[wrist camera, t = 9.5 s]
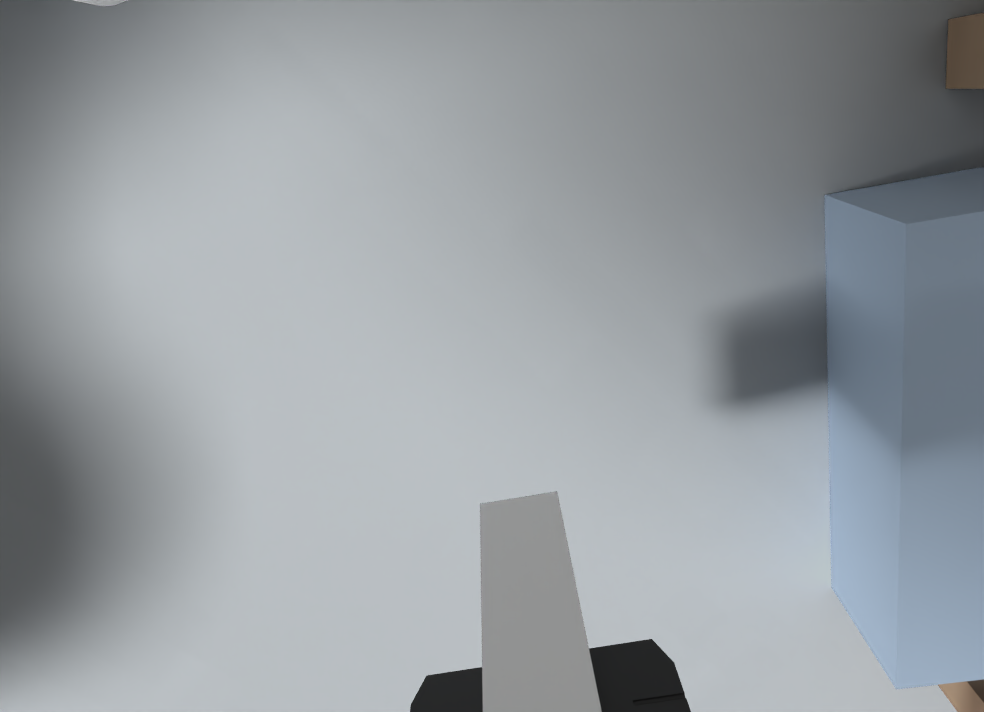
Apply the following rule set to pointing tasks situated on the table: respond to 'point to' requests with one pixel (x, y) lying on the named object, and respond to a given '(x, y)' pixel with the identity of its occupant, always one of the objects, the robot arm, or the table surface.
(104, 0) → the white slotted block
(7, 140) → the table surface
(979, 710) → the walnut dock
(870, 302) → the t block
